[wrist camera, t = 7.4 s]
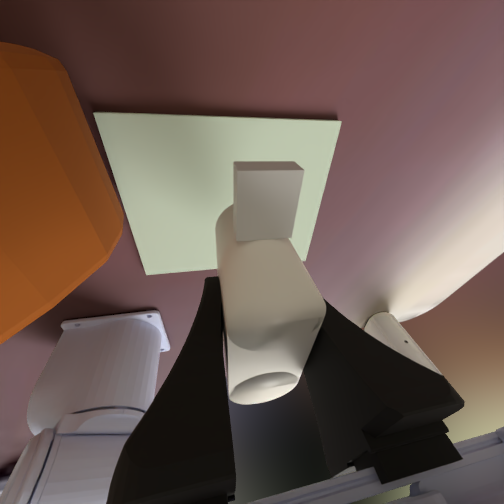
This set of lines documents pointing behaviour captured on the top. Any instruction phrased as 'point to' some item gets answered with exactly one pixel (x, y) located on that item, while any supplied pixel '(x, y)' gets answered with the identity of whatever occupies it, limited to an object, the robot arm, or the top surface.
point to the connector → (264, 283)
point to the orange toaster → (47, 190)
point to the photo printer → (397, 338)
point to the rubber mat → (205, 177)
